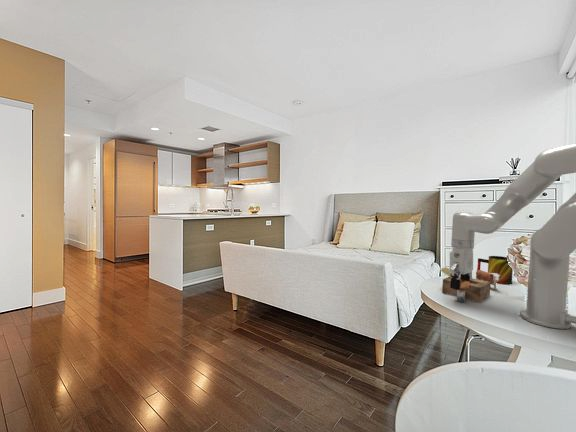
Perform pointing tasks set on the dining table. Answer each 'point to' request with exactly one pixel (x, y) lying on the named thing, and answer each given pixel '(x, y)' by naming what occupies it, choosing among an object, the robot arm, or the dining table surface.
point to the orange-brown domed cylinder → (462, 290)
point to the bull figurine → (488, 277)
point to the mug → (498, 268)
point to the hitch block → (470, 289)
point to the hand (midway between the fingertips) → (459, 286)
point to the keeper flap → (446, 271)
